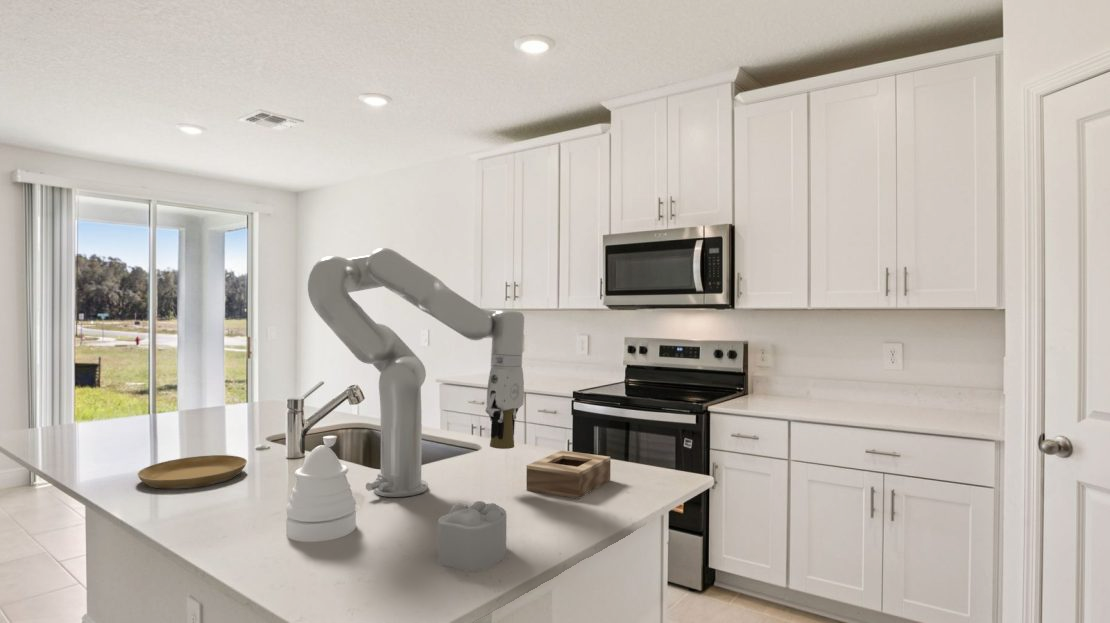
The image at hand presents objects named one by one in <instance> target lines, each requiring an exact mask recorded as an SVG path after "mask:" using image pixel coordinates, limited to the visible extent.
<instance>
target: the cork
mask: <svg viewBox="0 0 1110 623" xmlns="http://www.w3.org/2000/svg"><path fill="white" fill-rule="evenodd" d="M495 408H496V409H500V408H498V406H495ZM514 410H515V409H514V408H513V409H510V410H505V411H504V414H503V420H502V422H503V423H504V430H503V439H498V436H495V437H494V438H491V437H490V441H489V447H490V448H493V449H500V450H509V449H513V448H515V434H514V435H513V421H512V414H513V413H514ZM496 412H497V413H498V415H499V411H496Z"/></svg>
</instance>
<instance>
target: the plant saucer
mask: <svg viewBox="0 0 1110 623" xmlns="http://www.w3.org/2000/svg"><path fill="white" fill-rule="evenodd" d="M247 461H248V460H247V459H246V458H244V457H241V456H237V455H230V454H229V455H227V454H216V455H212V454H211V455H195V456H189V457H182V458H177V459H171V460H166V461H162V462H158V463H155V464H151V465H149V466H146V467H144V468H142V469H141V470H139V471H138V472H137V476H138V478H139V479H140V481H141V482H143V483H144V484H145V485H147V486H148V487H149V486H150V487H151V488H154V489H162V490H163V489H164V490H180V489H192V488H200V487H206V486H211V485H216V484H219V483H223V482H226V481H229V480H231V479H233V478H234V477H236V476H237V475H238V474H240V473H242V471H243V470H244V469H245V467H246V464H247Z"/></svg>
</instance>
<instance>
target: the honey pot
mask: <svg viewBox="0 0 1110 623" xmlns="http://www.w3.org/2000/svg"><path fill="white" fill-rule="evenodd" d="M337 438H338V436H336V435H325V436H323V437H322V440H323V445H322V444H321V445H318V446H316V447H314V448H313V449H312V450H311V451H310V452H309V454H308V455H307V457H306V458H305V460H304V462H303V464H302V467H300V468H297V469H296V470H295V471H294V477H295V478H296V481H295V484H294V486H293V487H292V489H291V492H292V493H291V494H290V496H289V497H290V498H289V502H288V503H287V505H286V509H285V511H286V514H285V516H286V519H285V522H286V524H285V525H286V526H285V527H286V528H285V529H286V530H285V533H286V534H285V535H286V537H287V538H288V539H289V540H292V541H296V542H301V543H314V542H315V543H316V542H318V543H319V542H326V541H332V540H336V539H339V538H343V537H345V536H347V535H349V534H351V533H352V532H355V529H356V525H357V522H356V521H357V520H356V519H357V518H356V517H357V516H356V512H357V511H356V497H355V496H354V495H353V491H352V489H351V482H349V481H348V478H347V476H346V474H347V473H348V472H349V467H348V466H347V465H345V464H342V463H341V462H340V460H339V457H338V456H337V454H336V453H335V452H334V451H333V450H332V448H331V447H333V446H334V445H335V444H336V442H337Z"/></svg>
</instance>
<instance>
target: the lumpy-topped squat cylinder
mask: <svg viewBox="0 0 1110 623" xmlns="http://www.w3.org/2000/svg"><path fill="white" fill-rule="evenodd" d="M506 555H507V511H506V510H505V509H504V508H503V507H502V506H500V505H499V504H496V503H493V502H492V503H486V502H484V501H483V500H481V501H480V500H478V501H475V502H474V503H472V505H464V504H462V503H456V504H454V505H453V506H452V507H451V509H450V510H449V512H448V513H445V515H442V516H440V518H438V521H437V563H438V564H439V565H440V566H442V567H449V568H455V569H458V570H461V571H463V572H464V571H466V572H479V571H483V570H487V569H488V568H491V567H492V566H495V565H496V564H498V563H499V562H501V561H502V560H503V559H505V557H506Z"/></svg>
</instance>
